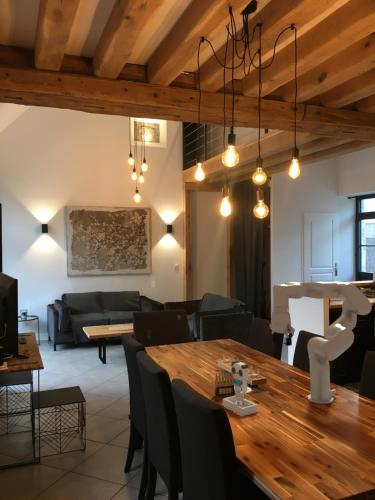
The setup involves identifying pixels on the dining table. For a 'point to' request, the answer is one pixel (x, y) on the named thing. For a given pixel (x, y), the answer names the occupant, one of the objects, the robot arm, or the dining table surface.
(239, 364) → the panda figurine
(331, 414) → the dining table surface
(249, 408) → the trough
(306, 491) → the dining table surface
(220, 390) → the ammunition clip
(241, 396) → the cylinder
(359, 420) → the dining table surface
